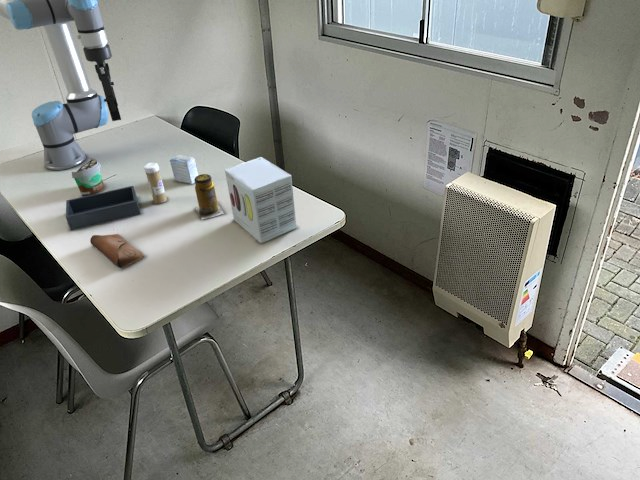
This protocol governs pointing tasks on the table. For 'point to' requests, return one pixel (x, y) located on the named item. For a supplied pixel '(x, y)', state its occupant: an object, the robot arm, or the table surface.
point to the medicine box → (184, 169)
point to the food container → (89, 178)
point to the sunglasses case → (116, 249)
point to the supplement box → (261, 198)
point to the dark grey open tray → (101, 207)
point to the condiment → (206, 197)
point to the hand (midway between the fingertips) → (115, 113)
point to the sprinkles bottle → (155, 182)
